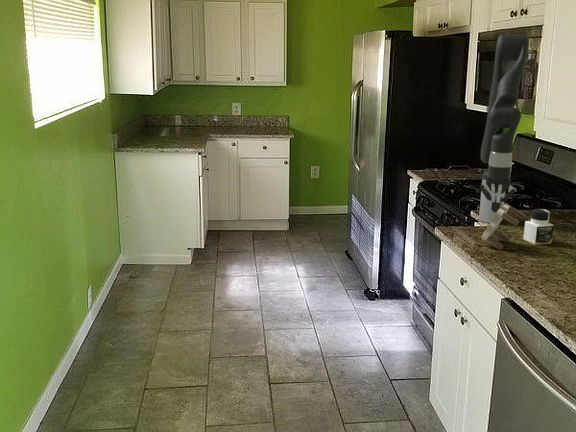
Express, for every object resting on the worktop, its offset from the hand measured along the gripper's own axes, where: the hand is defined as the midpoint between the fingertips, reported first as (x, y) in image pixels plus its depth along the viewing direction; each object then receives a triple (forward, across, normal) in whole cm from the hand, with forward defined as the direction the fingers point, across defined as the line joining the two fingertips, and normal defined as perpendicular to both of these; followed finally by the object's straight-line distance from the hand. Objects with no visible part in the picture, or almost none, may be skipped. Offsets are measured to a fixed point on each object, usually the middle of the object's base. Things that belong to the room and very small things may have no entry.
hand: (495, 212), depth 218 cm
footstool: (+10, -1, 0) cm, 10 cm away
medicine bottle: (+12, -13, -12) cm, 22 cm away
